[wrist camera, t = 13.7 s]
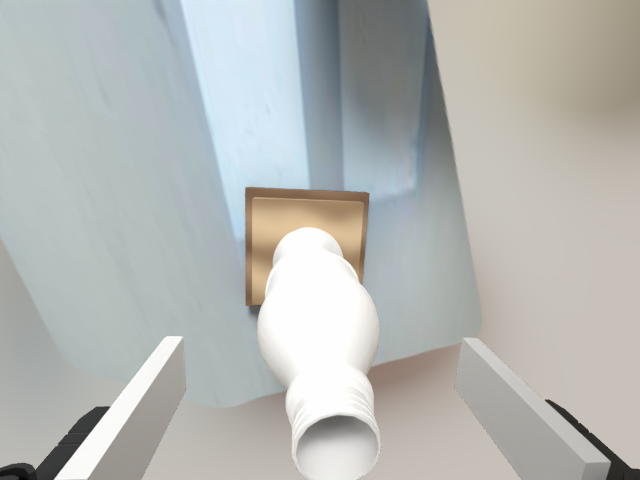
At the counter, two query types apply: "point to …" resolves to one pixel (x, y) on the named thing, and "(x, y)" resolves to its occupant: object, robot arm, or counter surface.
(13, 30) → the counter surface
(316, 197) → the walnut slab
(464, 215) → the counter surface
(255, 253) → the oak slab
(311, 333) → the water bottle
